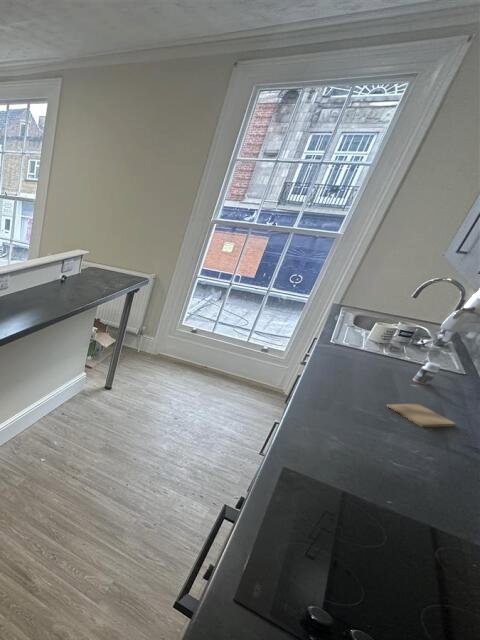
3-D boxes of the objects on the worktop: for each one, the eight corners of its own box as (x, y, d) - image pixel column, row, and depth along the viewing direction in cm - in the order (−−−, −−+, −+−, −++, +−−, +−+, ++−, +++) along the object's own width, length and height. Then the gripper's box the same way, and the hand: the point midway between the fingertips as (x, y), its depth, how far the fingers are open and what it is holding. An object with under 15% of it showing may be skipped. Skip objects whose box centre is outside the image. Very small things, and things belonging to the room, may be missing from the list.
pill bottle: (411, 377, 167) (424, 360, 163) (425, 381, 165) (439, 363, 161) (414, 382, 164) (428, 364, 159) (429, 386, 162) (444, 368, 157)
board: (454, 425, 137) (456, 423, 137) (421, 427, 135) (423, 424, 134) (416, 405, 147) (418, 403, 147) (385, 406, 145) (387, 404, 144)
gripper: (471, 310, 143) (443, 345, 150) (514, 311, 146) (484, 345, 154) (451, 303, 148) (424, 337, 155) (492, 305, 151) (465, 338, 159)
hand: (455, 341), depth 154 cm, fingers open, 8 cm apart
